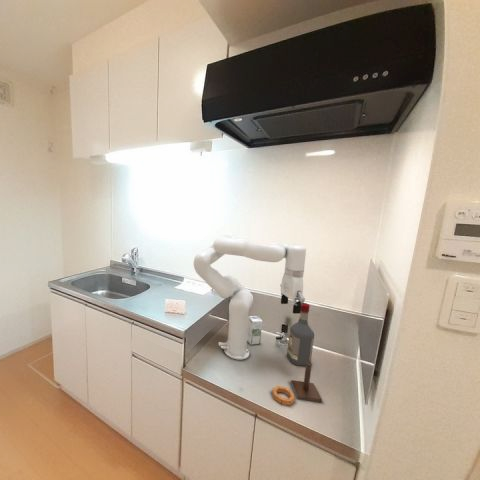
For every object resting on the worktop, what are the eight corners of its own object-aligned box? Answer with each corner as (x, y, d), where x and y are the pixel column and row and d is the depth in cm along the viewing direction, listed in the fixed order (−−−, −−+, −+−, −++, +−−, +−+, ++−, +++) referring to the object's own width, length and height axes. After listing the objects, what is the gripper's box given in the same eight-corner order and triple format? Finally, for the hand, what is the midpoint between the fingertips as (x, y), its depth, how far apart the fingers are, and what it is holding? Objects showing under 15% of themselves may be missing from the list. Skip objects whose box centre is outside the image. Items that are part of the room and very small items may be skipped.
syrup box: (254, 338, 146) (256, 315, 143) (260, 344, 140) (262, 320, 138) (245, 339, 145) (247, 315, 142) (250, 345, 139) (252, 321, 137)
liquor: (303, 355, 131) (310, 301, 126) (312, 367, 122) (320, 309, 117) (285, 354, 132) (291, 300, 127) (292, 365, 123) (299, 308, 118)
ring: (275, 403, 101) (275, 398, 101) (271, 389, 108) (271, 385, 108) (296, 406, 99) (296, 402, 99) (290, 392, 107) (290, 387, 106)
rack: (297, 398, 103) (300, 369, 101) (290, 382, 112) (293, 355, 109) (321, 402, 102) (325, 372, 99) (312, 386, 110) (316, 358, 108)
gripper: (275, 266, 121) (272, 300, 124) (297, 279, 104) (293, 317, 107) (290, 266, 121) (287, 300, 124) (314, 278, 104) (310, 317, 108)
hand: (290, 308), depth 116 cm, fingers open, 9 cm apart
